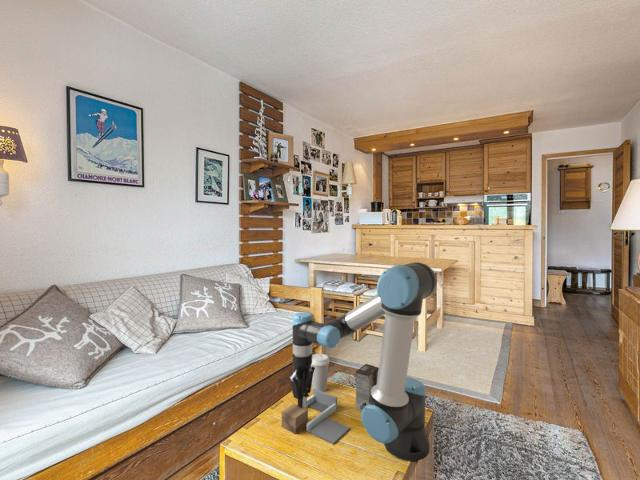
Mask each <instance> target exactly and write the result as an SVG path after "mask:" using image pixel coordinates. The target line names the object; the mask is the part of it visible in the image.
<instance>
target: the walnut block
mask: <svg viewBox="0 0 640 480" xmlns="http://www.w3.org/2000/svg"><path fill="white" fill-rule="evenodd" d="M308 422H309V409H307V408H306V409H305V408H303V407H299V406H298V404H296V403H293V404H291V405H290V406H287V407H286V408H284V409H283V410H282V411H281V428H283V429H285V430H287V431H289V432H291V433H292V434H294V435H296V434H298V433H299V432H300V431H302V430H303V429H305V428H306V424H307V423H308Z"/></svg>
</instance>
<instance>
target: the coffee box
mask: <svg viewBox="0 0 640 480" xmlns="http://www.w3.org/2000/svg"><path fill="white" fill-rule="evenodd" d="M378 370H379V366H375V365H371V364H368V363H365V364H363V365H362V366H361V367H360V368H358V369H357V370H356V372H355V409H356V410H358V411H360V412H362V410H363V409H364V408H365V406H366V405H368V404H369V402H370V394H371V389H372V387H373V386H375V385H377V378H378Z"/></svg>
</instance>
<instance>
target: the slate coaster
mask: <svg viewBox="0 0 640 480" xmlns="http://www.w3.org/2000/svg"><path fill="white" fill-rule="evenodd" d="M350 430H351V427H350V426H349V425H345V424H343V423H340V422H338V421H336V420H334V419H332V418H329V417H326V418H325V419H323V420H322V421H321V422H320V423H318V424H317V425H316V426H315V427H313V428H312V429H311V430H309V431H308V433H309V434H311V435H312V436H315V437H316V438H319V439H321V440H323V441H326V442H327V443H329V444H332V445H334V444H336V443H337V442H339V440H340V439H341V438H342V437H344V436H345V434H347V433H348V432H349V431H350Z"/></svg>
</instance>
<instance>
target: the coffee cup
mask: <svg viewBox="0 0 640 480" xmlns="http://www.w3.org/2000/svg"><path fill="white" fill-rule="evenodd" d="M330 362H331V360H330V358H329V356H328V355H327V354H324V353H315V354H312V364H311V366H313V367H315V370H314V373H313V378H312V385H311V391H313V389H317V390H320V391H322V392H325V391H327V387H328V376H329V375H328V373H329V367H330V366H329V364H330Z"/></svg>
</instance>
